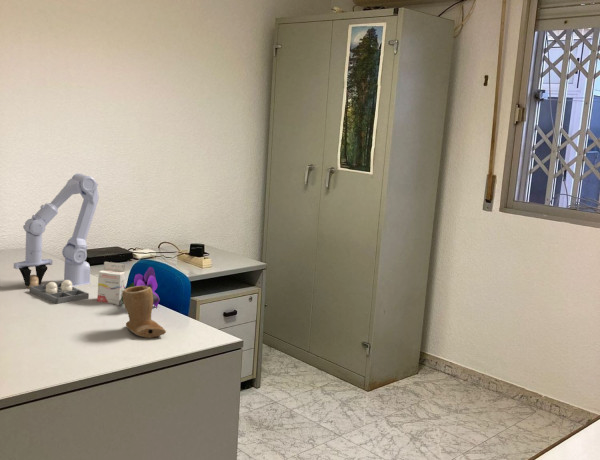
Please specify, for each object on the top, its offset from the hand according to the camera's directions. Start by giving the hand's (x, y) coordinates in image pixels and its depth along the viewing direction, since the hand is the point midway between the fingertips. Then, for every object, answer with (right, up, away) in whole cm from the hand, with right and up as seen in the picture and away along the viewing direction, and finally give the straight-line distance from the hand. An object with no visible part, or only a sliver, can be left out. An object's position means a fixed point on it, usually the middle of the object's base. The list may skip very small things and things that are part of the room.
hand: (32, 285), depth 250 cm
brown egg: (0, -1, 0) cm, 1 cm away
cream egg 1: (+11, -3, -9) cm, 15 cm away
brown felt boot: (+51, -12, -37) cm, 64 cm away
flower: (+43, -7, -11) cm, 45 cm away
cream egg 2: (+15, -3, -5) cm, 16 cm away
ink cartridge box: (+32, -6, -8) cm, 34 cm away
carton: (+13, -4, -7) cm, 15 cm away
